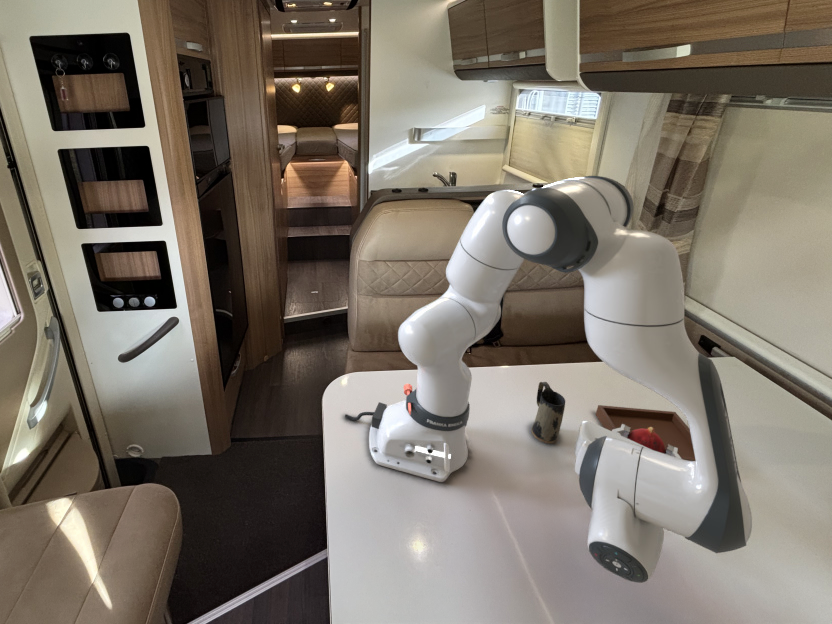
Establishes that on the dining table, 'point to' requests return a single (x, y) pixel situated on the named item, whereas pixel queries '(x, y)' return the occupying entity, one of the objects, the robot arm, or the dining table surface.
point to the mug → (548, 414)
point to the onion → (647, 439)
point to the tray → (662, 422)
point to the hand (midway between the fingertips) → (647, 437)
